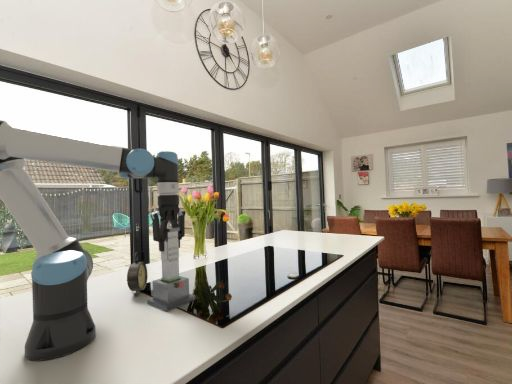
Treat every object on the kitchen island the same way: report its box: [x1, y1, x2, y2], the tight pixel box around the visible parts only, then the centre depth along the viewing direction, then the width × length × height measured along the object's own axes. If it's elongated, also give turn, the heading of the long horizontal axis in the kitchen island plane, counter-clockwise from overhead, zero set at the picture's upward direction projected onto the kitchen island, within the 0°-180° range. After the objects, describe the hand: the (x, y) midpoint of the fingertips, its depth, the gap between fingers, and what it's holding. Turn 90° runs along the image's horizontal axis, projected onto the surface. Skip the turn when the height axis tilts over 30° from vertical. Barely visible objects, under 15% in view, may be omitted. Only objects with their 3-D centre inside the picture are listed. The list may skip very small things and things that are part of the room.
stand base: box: [146, 275, 196, 313], centre depth 96 cm, size 12×12×8 cm
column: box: [161, 226, 181, 283], centre depth 96 cm, size 4×6×19 cm
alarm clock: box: [126, 251, 148, 297], centre depth 106 cm, size 11×5×16 cm, turn 5°
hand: (170, 258), depth 96 cm, fingers closed on column, 4 cm apart
